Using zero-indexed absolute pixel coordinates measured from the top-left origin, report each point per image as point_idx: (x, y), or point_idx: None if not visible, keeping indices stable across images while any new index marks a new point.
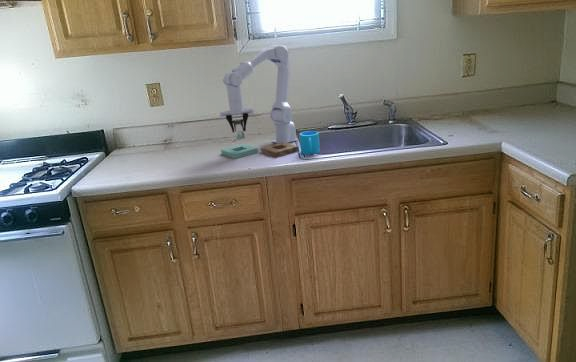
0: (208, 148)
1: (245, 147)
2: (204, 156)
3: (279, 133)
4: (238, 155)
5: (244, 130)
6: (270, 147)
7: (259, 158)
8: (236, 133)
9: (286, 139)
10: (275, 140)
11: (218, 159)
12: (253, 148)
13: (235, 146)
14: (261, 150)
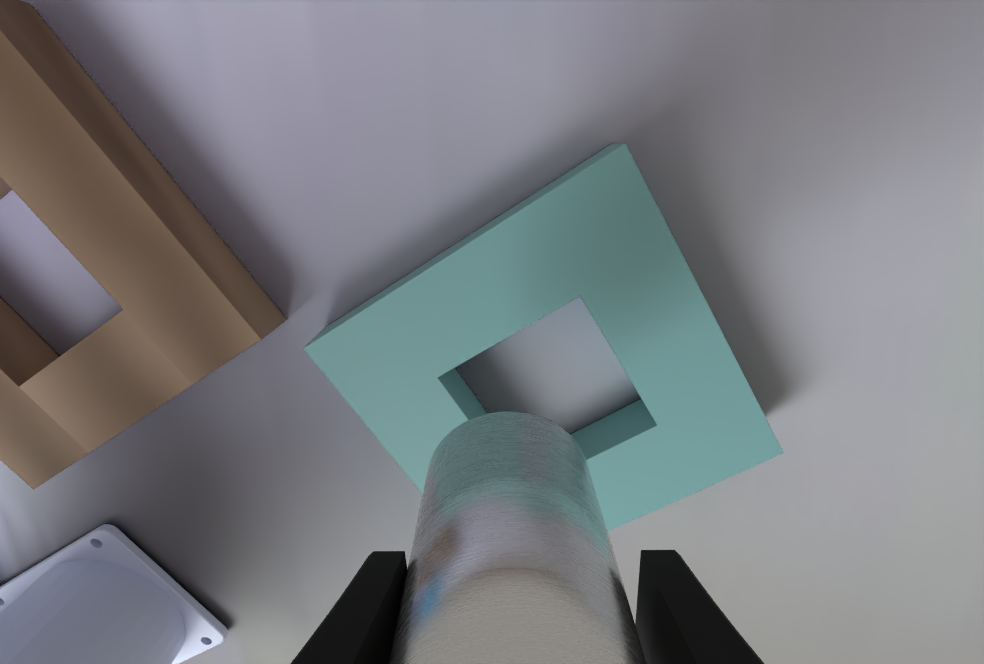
0: (865, 656)
1: None
2: (970, 399)
3: (39, 658)
4: (557, 180)
5: (388, 563)
6: (128, 310)
7: (264, 28)
8: (586, 508)
9: (37, 583)
10: (192, 640)
11: (826, 197)
12: (357, 350)
13: None
14: (268, 319)
